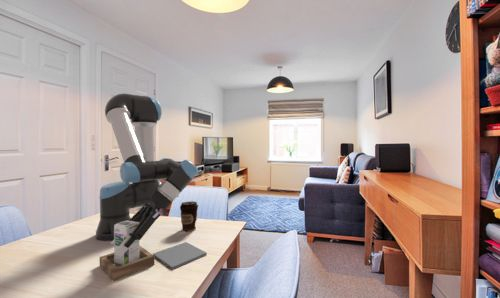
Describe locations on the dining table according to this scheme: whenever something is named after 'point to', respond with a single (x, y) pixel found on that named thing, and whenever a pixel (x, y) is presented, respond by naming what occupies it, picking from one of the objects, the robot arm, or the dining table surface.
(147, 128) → the robot arm
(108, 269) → the walnut holder
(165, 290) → the dining table surface
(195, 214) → the coffee cup
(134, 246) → the syrup box
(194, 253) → the rubber mat
